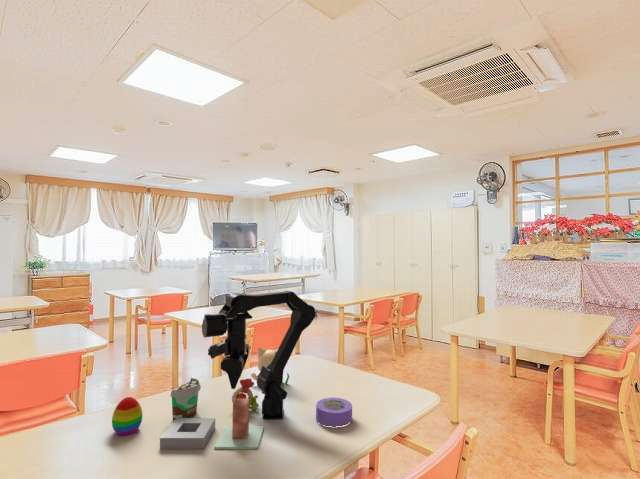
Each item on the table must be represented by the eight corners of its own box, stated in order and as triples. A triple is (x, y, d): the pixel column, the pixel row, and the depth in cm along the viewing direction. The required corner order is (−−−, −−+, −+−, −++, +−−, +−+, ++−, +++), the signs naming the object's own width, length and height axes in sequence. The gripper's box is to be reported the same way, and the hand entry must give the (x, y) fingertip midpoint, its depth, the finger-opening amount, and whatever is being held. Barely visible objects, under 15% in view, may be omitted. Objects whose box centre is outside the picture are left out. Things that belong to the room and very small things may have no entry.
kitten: (292, 380, 155) (293, 344, 155) (284, 389, 145) (285, 351, 145) (259, 377, 158) (259, 342, 158) (249, 385, 148) (250, 348, 149)
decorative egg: (113, 427, 113) (114, 394, 113) (142, 422, 116) (143, 390, 116) (109, 440, 105) (110, 405, 106) (141, 434, 109) (142, 400, 109)
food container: (187, 424, 115) (188, 392, 116) (169, 422, 117) (170, 390, 117) (207, 407, 127) (207, 378, 128) (191, 406, 129) (191, 377, 129)
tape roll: (357, 416, 123) (357, 401, 123) (344, 432, 112) (344, 415, 112) (324, 409, 127) (324, 394, 128) (309, 423, 117) (310, 407, 117)
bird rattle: (241, 421, 122) (265, 405, 126) (228, 392, 121) (253, 377, 125) (236, 413, 128) (259, 398, 132) (224, 386, 126) (247, 372, 130)
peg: (248, 432, 109) (249, 398, 110) (246, 439, 105) (246, 404, 106) (235, 432, 109) (235, 398, 110) (232, 439, 105) (232, 404, 106)
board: (263, 428, 113) (263, 426, 113) (257, 449, 101) (257, 447, 101) (224, 427, 113) (224, 425, 113) (214, 449, 101) (214, 446, 101)
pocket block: (215, 427, 113) (215, 418, 113) (203, 449, 101) (203, 438, 101) (176, 427, 113) (176, 417, 113) (159, 448, 101) (159, 437, 101)
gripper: (217, 327, 125) (216, 373, 125) (203, 341, 106) (202, 395, 106) (250, 327, 126) (249, 373, 125) (241, 340, 107) (241, 394, 107)
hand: (235, 383), depth 116 cm, fingers open, 9 cm apart
